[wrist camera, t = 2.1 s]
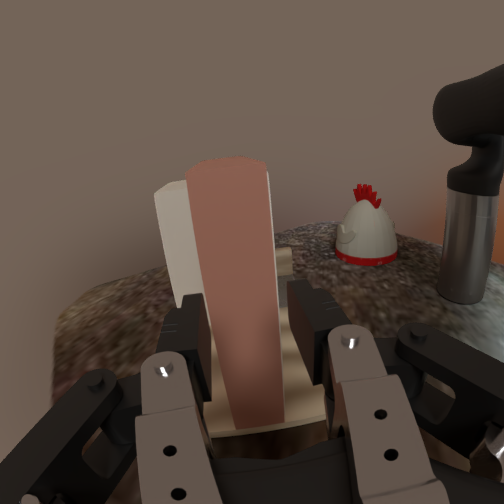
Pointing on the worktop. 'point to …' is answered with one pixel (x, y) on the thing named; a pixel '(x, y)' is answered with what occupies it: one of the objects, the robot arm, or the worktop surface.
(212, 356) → the rack
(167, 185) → the cream book
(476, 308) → the worktop surface
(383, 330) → the worktop surface
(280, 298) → the bookend
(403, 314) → the worktop surface
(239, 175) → the terracotta book
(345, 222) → the kitchen timer
